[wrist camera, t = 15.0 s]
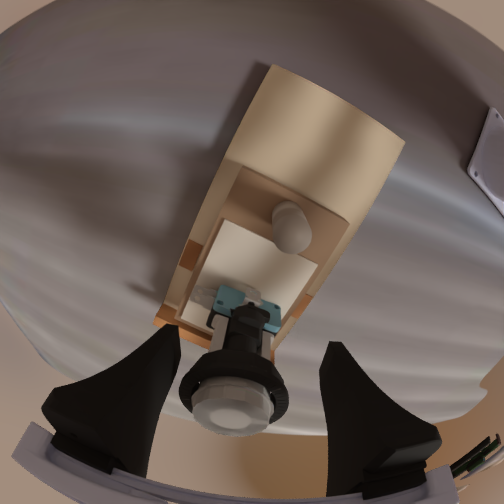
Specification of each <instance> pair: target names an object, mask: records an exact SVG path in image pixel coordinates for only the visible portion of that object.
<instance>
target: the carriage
mask: <svg viewBox="0 0 504 504" xmlns="http://www.w3.org/2000/svg"><path fill="white" fill-rule="evenodd" d="M349 225H350V224H349V222H348V221H347V220H346V219H345V218H343V217H342V216H340V215H338V214H336V213H335V212H333V211H331V210H329V209H328V208H326V207H324V206H322V205H320V204H319V203H317V202H315V201H313V200H311V199H309V198H308V197H306V196H304V195H302V194H300V193H298V192H296V191H294V190H292V189H291V188H289V187H287V186H285V185H283V184H281V183H279V182H277V181H275V180H273V179H271V178H269V177H267V176H265V175H263V174H261V173H259V172H257V171H255V170H253V169H251V168H248V167H246V166H244V165H243V166H242V167H241V169H240V171H239V173H238V175H237V177H236V179H235V181H234V183H233V185H232V188H231V190H230V192H229V194H228V196H227V198H226V200H225V202H224V204H223V207H222V209H221V211H220V213H219V215H218V217H217V219H216V222H215V224H214V226H213V228H212V230H211V233H210V235H209V237H208V239H207V242H206V244H205V246H204V248H203V251H202V253H201V255H200V257H199V260H198V262H197V264H196V267H195V269H194V271H193V274H192V276H191V278H190V281H189V283H188V285H187V288H186V290H185V293H184V295H183V297H182V300H181V302H180V305H179V307H178V310H177V312H176V315H175V317H174V319H176V320H178V321H181V322H183V323H185V324H187V325H189V326H191V327H194V328H196V329H198V330H200V331H203V332H205V333H207V334H209V335H212V336H213V333H214V330H213V329H210V328H208V327H207V326H206V322H207V319H208V316H209V313H210V310H208V309H205V308H203V306H202V305H200V304H197V303H195V302H192V301H190V300H189V299H190V296H191V293H192V292H193V290H194V287H195V285H198V286H201V287H203V288H206V289H208V290H210V288H211V289H213V290H216V291H218V290H219V288H220V286H221V285H226V286H228V287H231V288H233V289H236V290H239V291H241V292H244V293H246V288H247V287H250V288H252V289H255V290H258V291H259V292H260V293H261V299H262V300H265V301H267V302H270V303H274V304H277V305H279V306H280V308H281V328H280V329H279V331H280V330H281V329H282V327H283V326H284V324H285V323H286V322H287V320H288V319H289V317H290V316H291V315H292V313H293V312H294V310H295V309H296V307H297V306H298V304H299V303H300V302H301V300H302V299H303V297H304V296H305V294H306V293H307V291H308V290H309V288H310V287H311V285H312V284H313V282H314V281H315V279H316V278H317V276H318V275H319V273H320V272H321V270H322V268H323V267H324V265H325V264H326V262H327V261H328V259H329V258H330V256H331V254H332V253H333V251H334V250H335V248H336V246H337V245H338V243H339V242H340V240H341V238H342V237H343V235H344V233H345V232H346V230H347V228H348V227H349ZM198 293H199V294H202V293H203V291H202V290H201V289H199V290H198ZM250 293H251V294H253V295H256V293H254V292H250ZM195 300H200V297H198V296H195ZM279 331H278V333H279ZM278 333H277V334H278ZM277 334H276V336H277ZM276 336H275V337H276ZM275 337H274V338H275Z"/></svg>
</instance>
